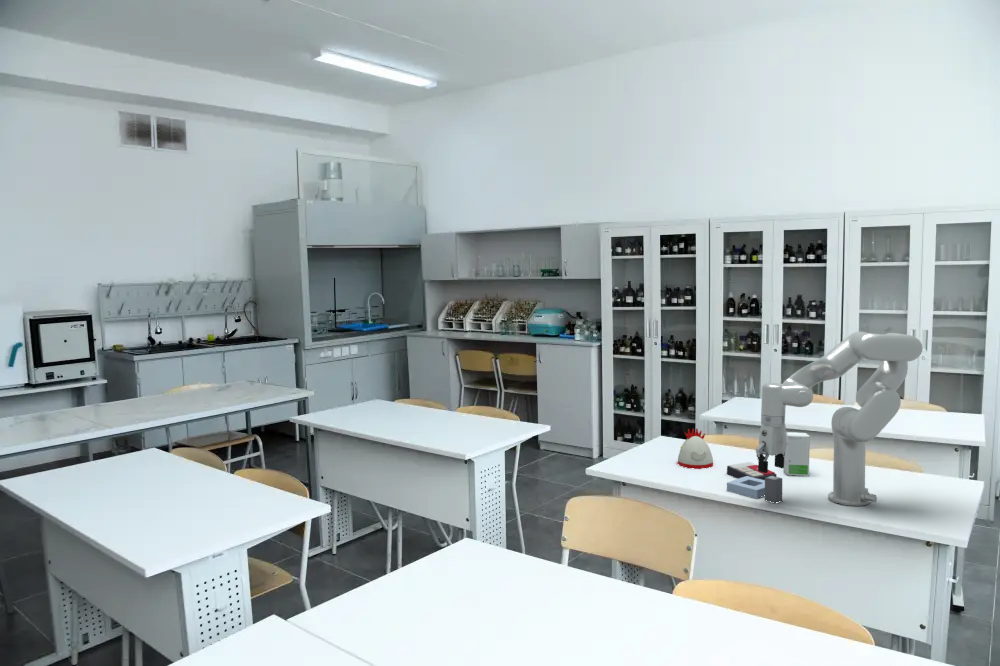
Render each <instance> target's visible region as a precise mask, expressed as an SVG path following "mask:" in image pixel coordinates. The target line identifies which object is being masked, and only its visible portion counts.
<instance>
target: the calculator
mask: <svg viewBox="0 0 1000 666" xmlns="http://www.w3.org/2000/svg"><path fill="white" fill-rule="evenodd" d="M726 474H728V476H730V477H732V476H733V477H732V478H736V479H739V478H742V477H745V476H749V477H753V478H757V479H761V480H765V478H766V477H769V476H775V477H778V475H777V473H776V472H774V471H772V470H770V469H768V473H763V472H759V471H758V464H755V463H753V462H751V461H750V462H748V461H747V462H743V463H742V462H740V463H736V464H735V463H734V464H729V465H726Z"/></svg>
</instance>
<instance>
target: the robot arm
mask: <svg viewBox="0 0 1000 666" xmlns="http://www.w3.org/2000/svg"><path fill="white" fill-rule="evenodd" d="M922 353H923V343H922V342H921V340H919V338H918V337H916V336H914V335H910V334H903V333H899V332H898V333H897V332H887V333H885V334H881V333H880V334H878V333H871V332H866V331H856V332H855V331H854V332H853V333H851V334H849V335H848V336H847V337H846V338H844V339H843V340H842V341H841V342H839V343H838V344H836V345H835V346H834V347H833V348H832V349H830V350H829V351H828V352H826V354H824V355H823V356H822V357H820V358H818V359H816V360H814V361H812V362H811V363H809V364H807V365H805V366H802V367H801V368H800V369H798V370H797V371H795V372H794V373H793V374H791V375H790V376H788V377H787V378H786V379H785V380H784V381H783V383H777V382H766V383H764V384H763V385H762V386H761V387H762V389H761V409H760V410H761V412H760V414H761V415H760V428H759V429H760V430H759V437H758V446H757V447H756V448H755V453H756V458H757V461H758V464H757V465H758V471H759V472H763V473H768V470H769V461H768V459H769V457H770V456H771V457H772V456H774V467H775V468H780V469H783V468H784V457H785V452H786V450H787V444H788V442H787V433H786V432H787V427H786V406H789V407H795V408H804V407H805V408H806V407H807V406H809V405H810V404H811V403H812V402H813V400H814V393H813V391H812V390H811V388H813V387H814V386H816V385H818V384H820V383H822V382H825V381H831V380H836V379H839V378H841V377H842V376H844V375H845V374H846V373H848V371H850V370H851V369H852V368H853V367H855V366H857V364H858V363H860V362H861V361H862V360H864V359H865V360H869V361H877V362H878V361H880V362H879V365H878V367H877V369H876V370H875V371H874V372H873V374H872V375H871V376H870V377H869V378H868V379H867V380H866V381H865V382H864V384H863V385H862V386H861V387H860V388H858V391H857V392H856V394H855V401H856V403H857V405H858V406H859V407H860V409H857V408H854V407H853V406H852V407H851V406H843V407H840V408H838V409H836V410H835V411H834V413H833V414H832V416H831V432H832V438H833V467H832V468H833V469H832V470H833V474H832V475H833V476H832V477H833V479H832V481H833V482H832V483H833V485H832V486H833V489H832V491H831V492H829V493H828V496H827V498H828V499H829V500H830V501H831V502H833V503H836V504H838V503H839V505H843V506H851V507H861V506H862V507H863V506H867V505H869V504H870V503H871V502H873V503H876V502H877V501H878V497H877V495H876V494H874V493H870V492H869V488H866V453H867V452H866V443H867V442H871V441H872V440H873V439H875V438H876V437H877V436H878V435H879V434H880V433H881V432H882V431H883V429H884V428H885V427H886V426H887V425H888V424H889V423H890V422H891V421H892V419H893V418H895V416H896V415H897V413H898V412H899V411H900V407H901V402H902V401H901V395H899V393H898V392H897V390H898V389H899V388H900V386H902V384H903V382H904V381H905V379H906V378H907V374H908V371H909V370H908V368H909V367H908V366H909V362H912V361H915V360H917V359H918V358H919V357H920V356H921V355H922Z"/></svg>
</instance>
